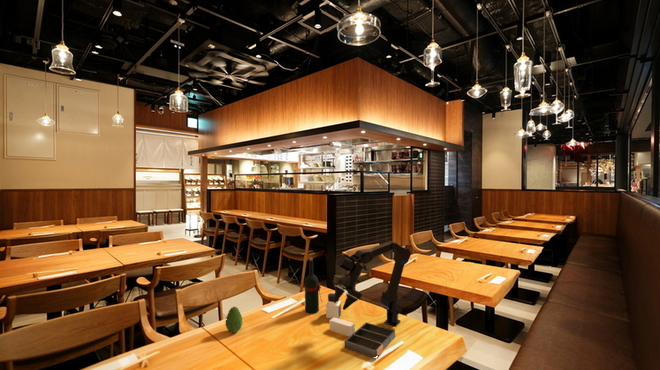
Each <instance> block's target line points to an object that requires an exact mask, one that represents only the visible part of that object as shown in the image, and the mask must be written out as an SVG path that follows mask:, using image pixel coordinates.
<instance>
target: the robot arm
mask: <svg viewBox="0 0 660 370" xmlns="http://www.w3.org/2000/svg"><path fill="white" fill-rule="evenodd" d="M389 252H392V253H393V261H394V264H393V268H392V271H391V275H390V278H389V283H388V286H387V289H386V290H385V291H382V292H381V297H380V298H379V299H380V304H381V306H383V309H385V310H386V320H385V321H384V322H383V323H384V324H386V325H389V326H394V327H397V326H398V325H399V324H400V322H401V320H400V319H399V314H400V313H402V310H403V308H402V307H401V306H400V305H399V297H398V290H399V287H400V282H401V278H402V274H403V271H404V268H405V265H406V264H408V262H409V261H410V259H411V256H412V252H411V249H409V248H406V247H403V246H401V245H400V244H398V243H397V242H396V241H391V240H389V241H387V242H385V243H382V244H379V245H376V246H374V247H371V248H363V249H358V250H356V251H355V253H353V254H352V255H350V256H349V255H348V254H347V253H342V255H341V256H339V257H338V258H337V261H336V267H338V268H340V269H342V270H344V271H346V272H347V273H344V275H339V274H338V275H337V274H335V275H334V276H333V281H332V284H333V287H334V289H335V290H334V293H335V296H334V303H336V302H337V301H338V299H339V300H340V298H341V297H342V296H343V294H344V293H345V292H346V291H347V292H346V293H345V296H346V298H345V301H344V303H343V306H342V310H344V311H345V310H347V309H348V308H349V307H350V306H351V305H353V304H354V303H356V302H358V301H361V299H362V298H363V294H362V292H360V291H358V290H356V288H355V287H356V285H357V283H360V280H359V278H360V277H361V274H362V273H363V271H365V272H367V271H368V268H367V266H366V265H368V264H369V263H370V262H372V261H373V259H374V258H376V257H378V256H382V255H384V254H385V253H389Z"/></svg>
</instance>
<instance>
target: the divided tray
mask: <svg viewBox="0 0 660 370" xmlns="http://www.w3.org/2000/svg"><path fill="white" fill-rule="evenodd" d="M347 337H348V338H346V339H345V340H344V341H343V342H344V349H348V350H350V351H353V352H355V353H358V354H361V355H363V356H365V357H370V358H372V359H374V358H373V357H376V356H378V355H379V354H380V355H381V354H382V353H383V352H384V351H385V350H386V348H387V347H388V346H389V345H390V344H391V343H392V342H393V340H394V339H395V338H396V330H395V329H391V328H386V327H383V326H381V325H377V324H374V323H370V322H367V321H366V322H364V323H363V324H362V325H361V326H360V327H359V328H358V329H356V330H355V332H354V333H353V334H352V335H351V336H350V337H349V336H347Z"/></svg>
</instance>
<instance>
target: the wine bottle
mask: <svg viewBox="0 0 660 370" xmlns="http://www.w3.org/2000/svg"><path fill="white" fill-rule="evenodd" d="M313 259H314V258H313V257H310V258H309V260H308V264H309V265H308V269H309V271H308V275H307V276H306V277H305V278H304V311H305V313H306V314H311V315H312V314H313V313H315V314H317V313H319V311H320V301H321V302H323V299H322V297H321V295H320V294H319V293H321V291H320V290H321V288H322V287H321V283H320V282H319V279H318V276H317V275H315V274H314V260H313ZM319 298H320V300H319ZM313 315H314V314H313Z"/></svg>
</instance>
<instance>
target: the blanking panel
mask: <svg viewBox="0 0 660 370" xmlns="http://www.w3.org/2000/svg"><path fill="white" fill-rule="evenodd" d="M328 320H329V319H328ZM355 324H356V323H354V322H351V321H349V320H345V319H342V318H339V319H338V318H335V317H334V318H330V320H329V331H332V332H334V333H337V334H341V335H342V336H347V337H350V336H351V335H352V334H353V333H354V332H355V331H356V329H355V328H356V327H355Z"/></svg>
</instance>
